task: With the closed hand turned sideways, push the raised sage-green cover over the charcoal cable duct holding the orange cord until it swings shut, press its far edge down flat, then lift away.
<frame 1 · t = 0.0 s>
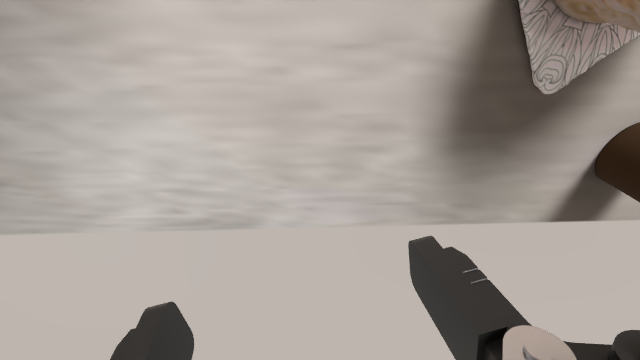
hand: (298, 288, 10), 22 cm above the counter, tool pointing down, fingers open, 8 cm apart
olive oil: (625, 151, 42), on the counter
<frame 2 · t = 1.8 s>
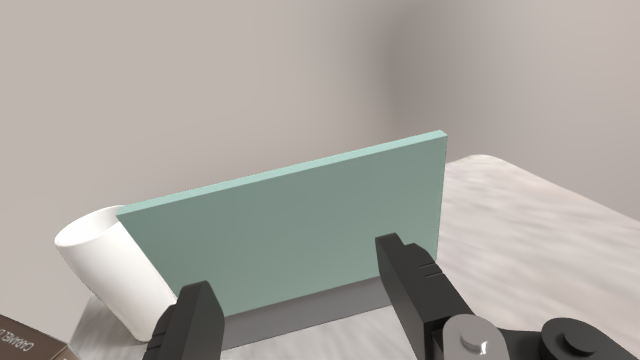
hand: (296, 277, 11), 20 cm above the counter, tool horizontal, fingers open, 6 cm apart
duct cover: (304, 238, 25), point 12 cm above the counter, hinge at 98.0°
cable duct: (317, 272, 38), on the counter
white tapered cylinder: (159, 324, 36), on the counter
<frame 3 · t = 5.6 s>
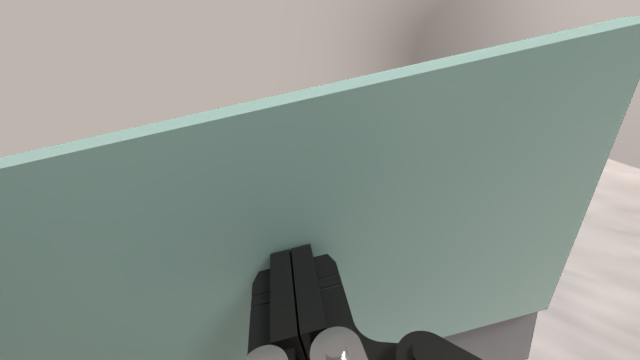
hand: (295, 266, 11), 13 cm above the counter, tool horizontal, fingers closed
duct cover: (302, 271, 12), point 12 cm above the counter, hinge at 95.8°, touching gripper
cable duct: (324, 309, 25), on the counter
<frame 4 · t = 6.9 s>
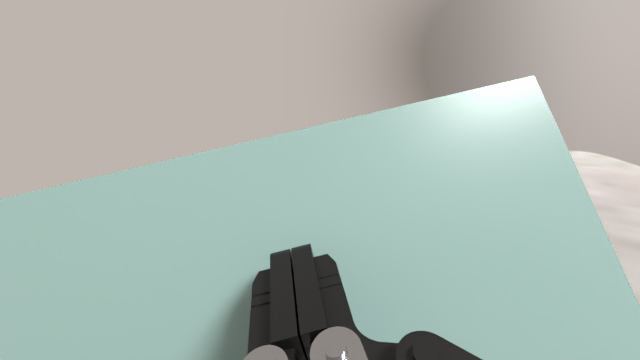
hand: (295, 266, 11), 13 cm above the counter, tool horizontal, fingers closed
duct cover: (311, 302, 12), point 11 cm above the counter, hinge at 50.3°, touching gripper
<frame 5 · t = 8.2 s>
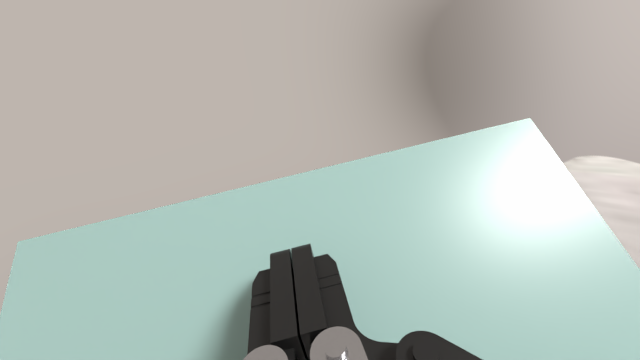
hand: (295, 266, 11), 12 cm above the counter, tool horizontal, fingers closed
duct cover: (321, 347, 11), point 10 cm above the counter, hinge at 36.2°, touching gripper
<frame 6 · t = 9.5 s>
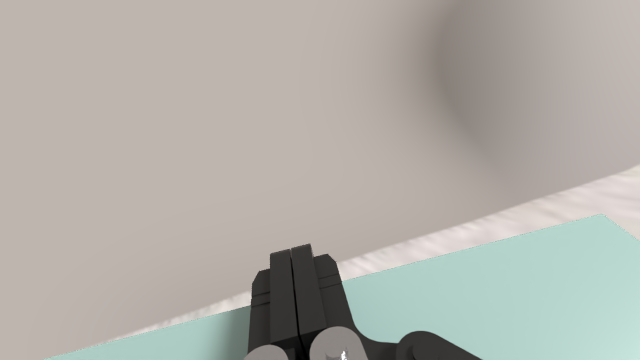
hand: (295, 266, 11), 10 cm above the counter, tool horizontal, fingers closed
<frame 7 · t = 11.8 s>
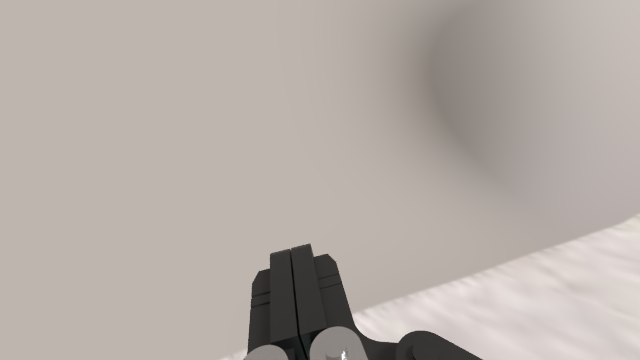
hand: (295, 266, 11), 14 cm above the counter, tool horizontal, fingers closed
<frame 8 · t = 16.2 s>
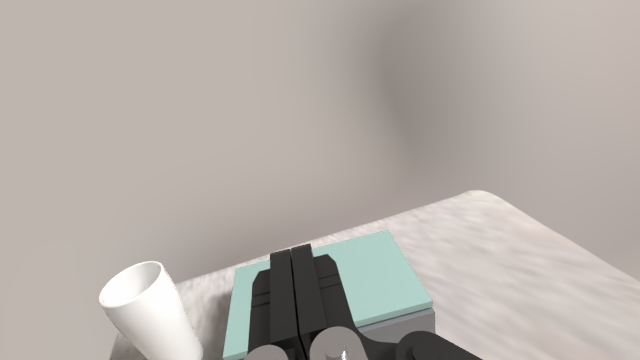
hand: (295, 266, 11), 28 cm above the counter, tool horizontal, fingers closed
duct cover: (320, 285, 39), point 6 cm above the counter, hinge at -0.1°
cable duct: (328, 314, 42), on the counter
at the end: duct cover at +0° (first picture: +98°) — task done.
